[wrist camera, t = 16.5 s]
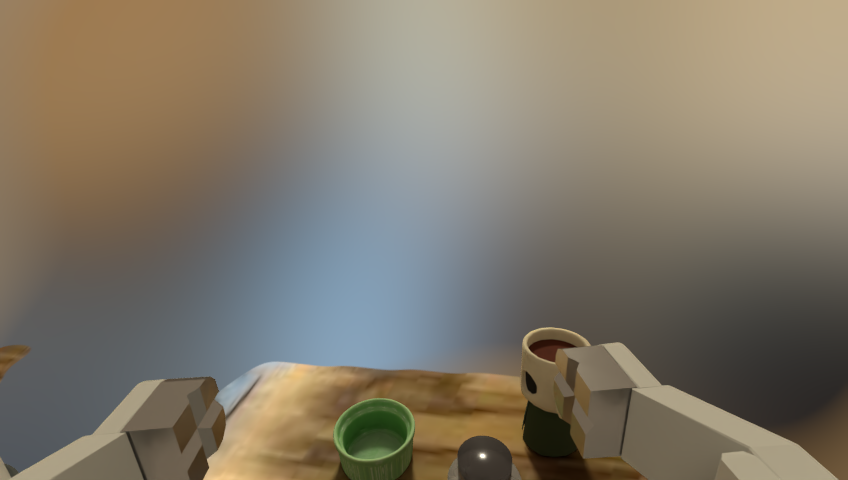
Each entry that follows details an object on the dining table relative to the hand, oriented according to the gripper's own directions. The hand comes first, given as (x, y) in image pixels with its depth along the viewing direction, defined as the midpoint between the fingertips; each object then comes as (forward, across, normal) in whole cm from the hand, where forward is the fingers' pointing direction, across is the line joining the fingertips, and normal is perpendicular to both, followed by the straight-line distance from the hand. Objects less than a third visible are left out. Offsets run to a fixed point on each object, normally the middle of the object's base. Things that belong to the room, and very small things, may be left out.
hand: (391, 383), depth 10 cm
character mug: (+27, +16, -32) cm, 45 cm away
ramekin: (+27, -4, -32) cm, 42 cm away
